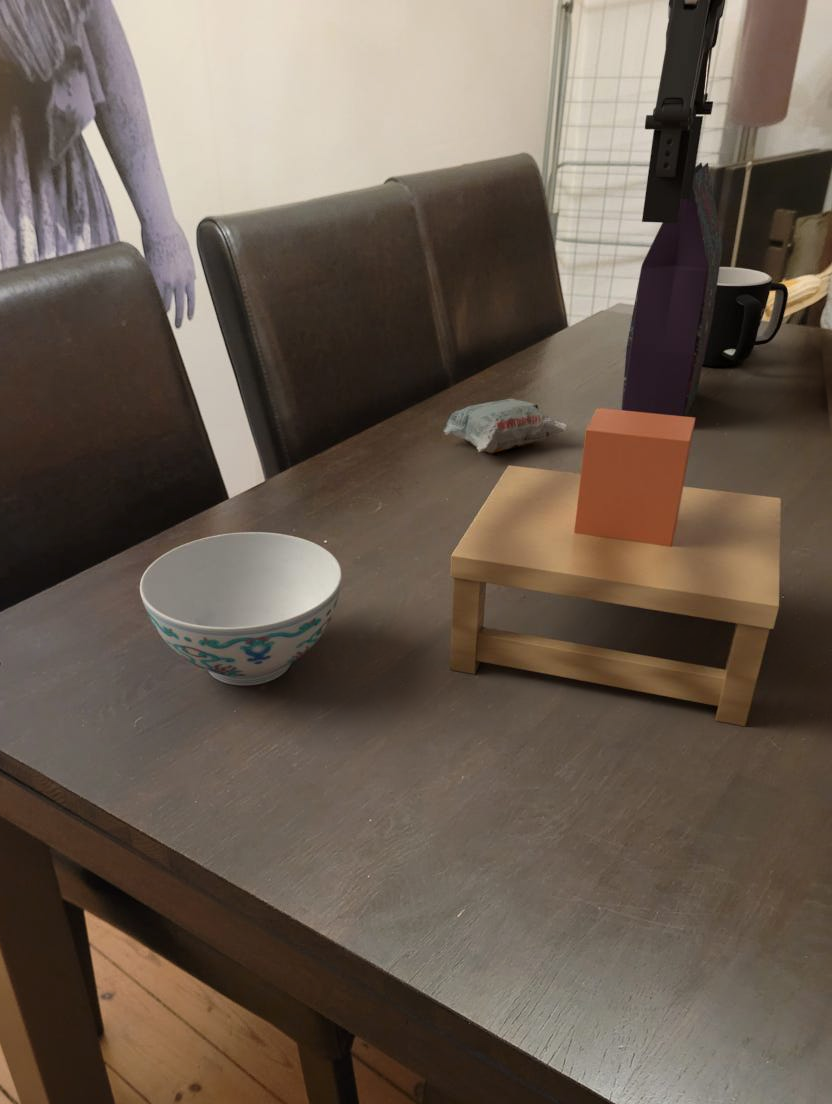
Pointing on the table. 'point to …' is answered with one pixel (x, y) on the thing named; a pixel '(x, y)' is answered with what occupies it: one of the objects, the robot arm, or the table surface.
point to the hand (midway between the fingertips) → (667, 209)
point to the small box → (633, 475)
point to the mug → (742, 315)
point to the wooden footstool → (622, 585)
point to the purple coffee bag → (674, 307)
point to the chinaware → (242, 602)
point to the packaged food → (502, 425)
